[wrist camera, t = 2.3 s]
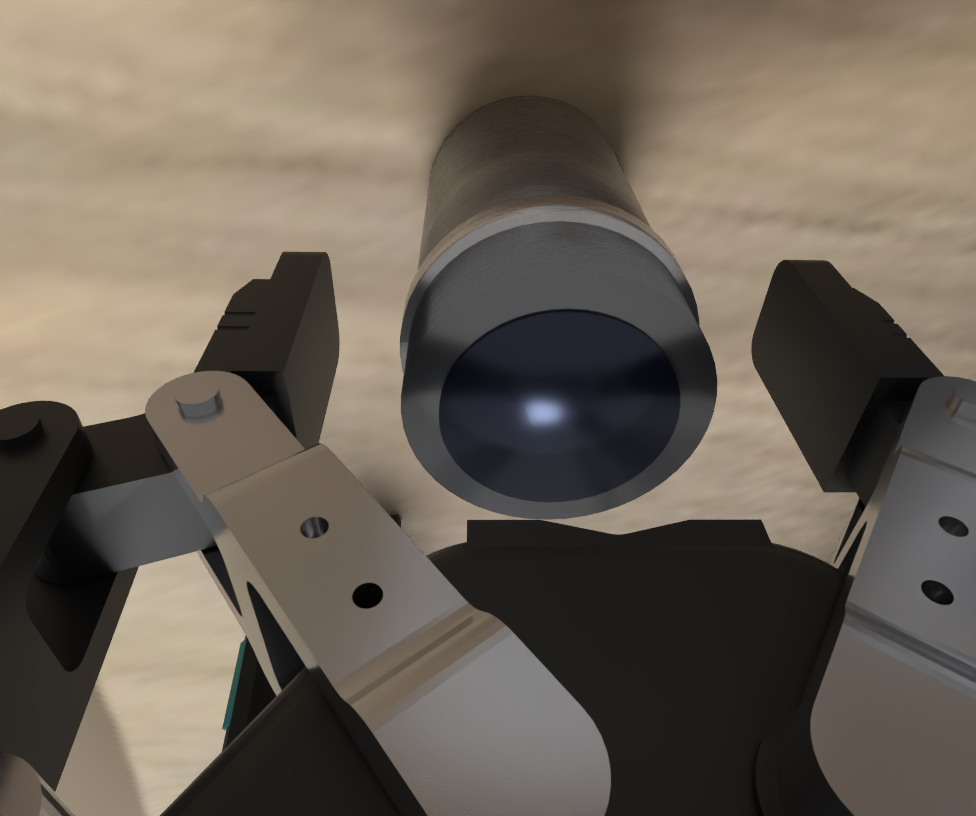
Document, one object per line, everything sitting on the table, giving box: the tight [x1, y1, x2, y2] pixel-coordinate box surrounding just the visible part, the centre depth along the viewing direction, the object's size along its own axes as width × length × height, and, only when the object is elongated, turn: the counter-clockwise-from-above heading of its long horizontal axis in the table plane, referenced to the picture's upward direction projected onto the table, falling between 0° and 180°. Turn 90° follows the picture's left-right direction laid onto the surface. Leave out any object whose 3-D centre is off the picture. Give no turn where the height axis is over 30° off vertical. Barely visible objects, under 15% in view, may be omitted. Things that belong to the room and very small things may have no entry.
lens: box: [400, 96, 717, 519], centre depth 14 cm, size 5×5×9 cm
